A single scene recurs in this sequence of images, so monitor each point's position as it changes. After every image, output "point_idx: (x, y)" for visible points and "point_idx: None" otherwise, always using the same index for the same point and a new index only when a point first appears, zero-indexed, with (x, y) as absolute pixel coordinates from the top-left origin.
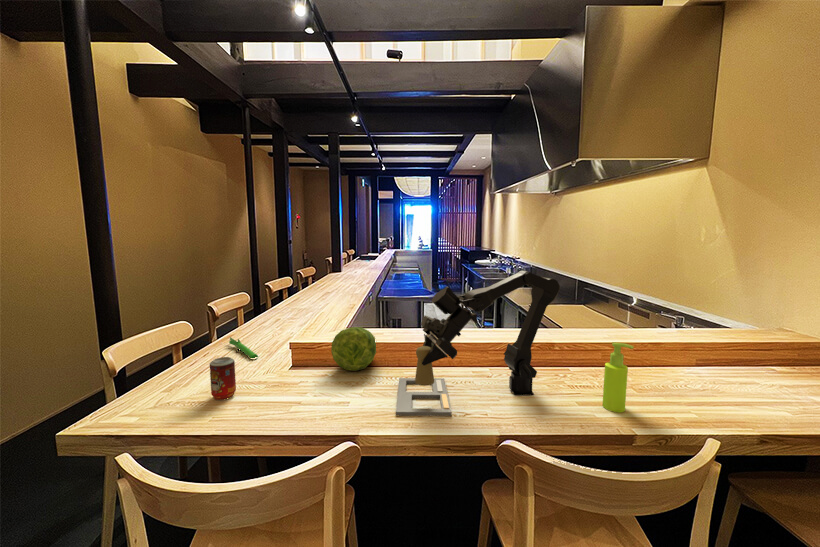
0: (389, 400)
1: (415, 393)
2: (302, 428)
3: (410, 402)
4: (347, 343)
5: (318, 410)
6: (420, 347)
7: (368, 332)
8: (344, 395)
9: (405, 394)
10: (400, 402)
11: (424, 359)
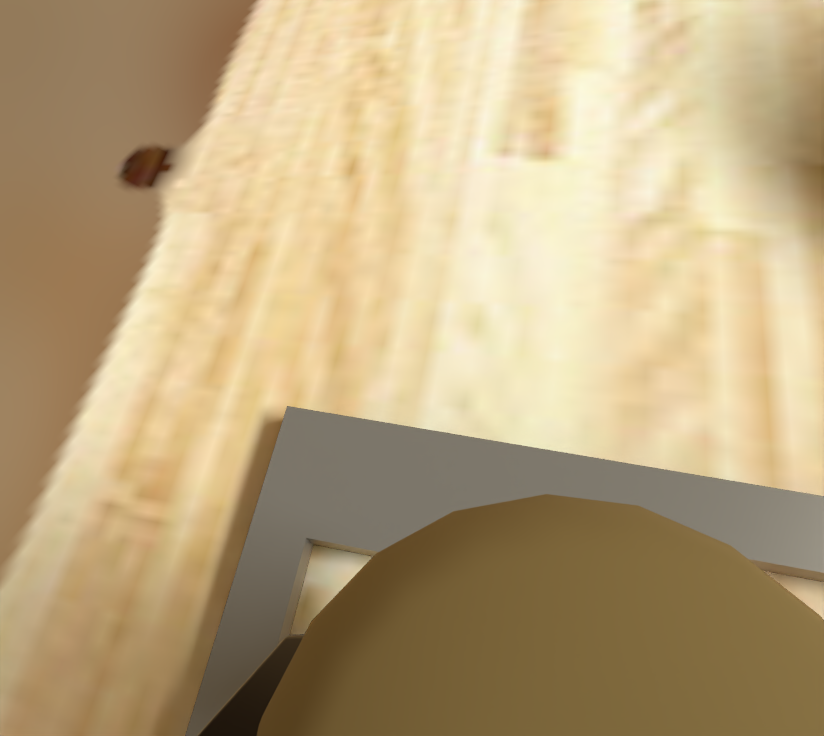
0: (547, 399)
1: None
2: (299, 3)
3: None
4: None
5: (463, 35)
6: (605, 646)
7: None
8: (647, 130)
9: None
10: (431, 460)
11: (231, 711)
